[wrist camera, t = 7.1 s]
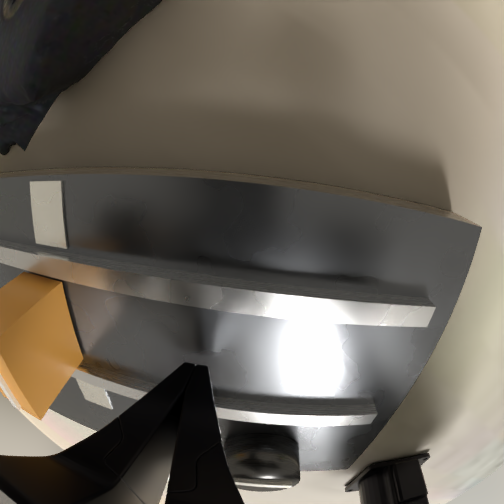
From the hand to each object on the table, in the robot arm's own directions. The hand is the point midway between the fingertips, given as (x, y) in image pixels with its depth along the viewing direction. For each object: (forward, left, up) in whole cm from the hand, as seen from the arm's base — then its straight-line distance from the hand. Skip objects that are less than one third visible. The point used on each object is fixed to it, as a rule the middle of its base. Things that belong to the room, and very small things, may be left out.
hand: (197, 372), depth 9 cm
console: (-2, +2, -3) cm, 4 cm away
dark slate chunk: (+19, +13, -4) cm, 23 cm away
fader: (0, +7, -1) cm, 7 cm away
